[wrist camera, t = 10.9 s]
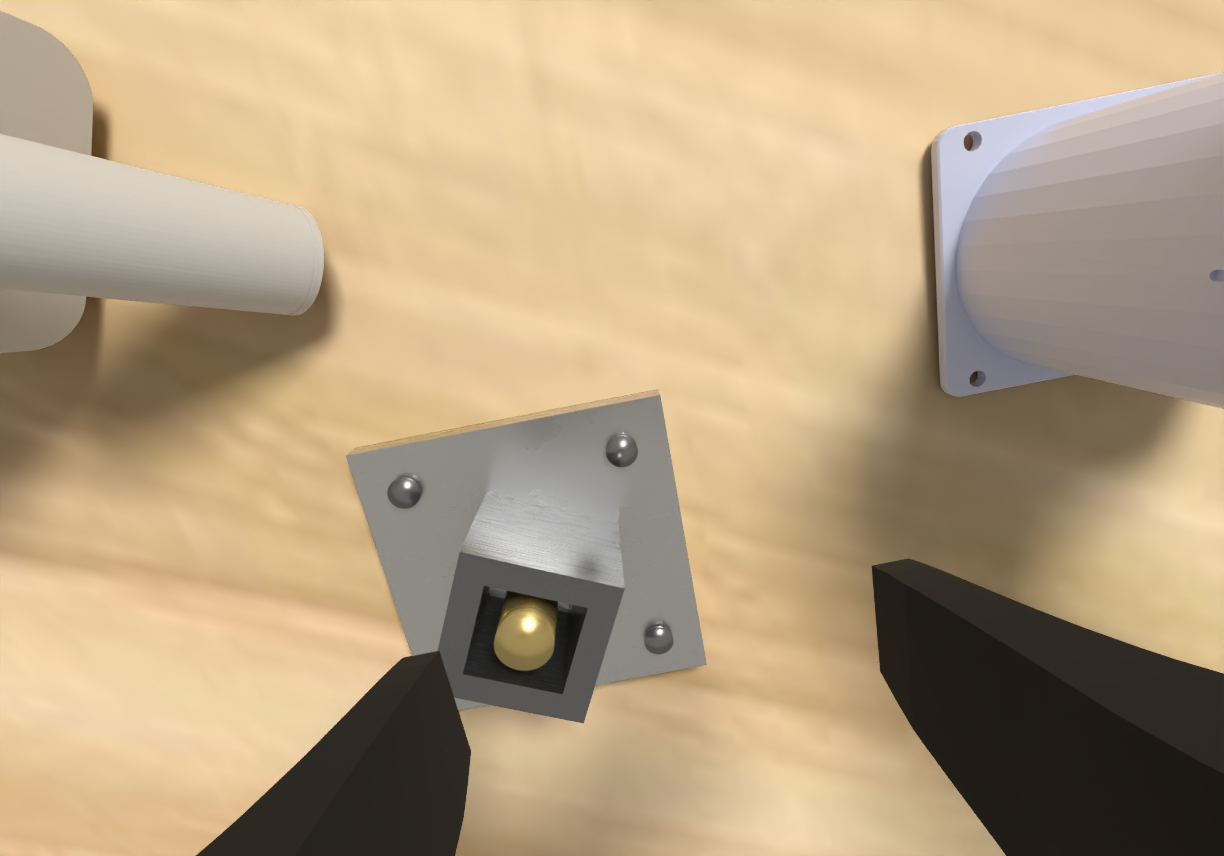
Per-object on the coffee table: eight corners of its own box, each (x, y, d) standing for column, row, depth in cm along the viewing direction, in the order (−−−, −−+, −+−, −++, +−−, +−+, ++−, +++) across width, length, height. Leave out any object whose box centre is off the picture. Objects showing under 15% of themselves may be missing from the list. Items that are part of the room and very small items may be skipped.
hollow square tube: (618, 524, 19) (624, 588, 16) (584, 636, 21) (583, 723, 17) (486, 493, 19) (459, 551, 15) (459, 610, 20) (428, 692, 16)
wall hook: (331, 405, 18) (-109, 518, 9) (56, 315, 20) (-586, 326, 10) (372, 129, 16) (-143, -119, 7) (63, 49, 18) (-735, -253, 8)
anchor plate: (657, 389, 19) (679, 432, 14) (702, 650, 22) (733, 760, 17) (355, 447, 19) (277, 509, 14) (437, 699, 22) (394, 822, 17)
